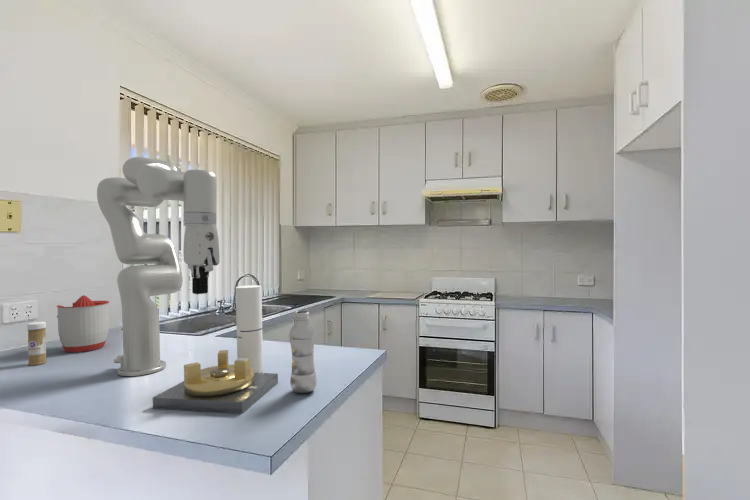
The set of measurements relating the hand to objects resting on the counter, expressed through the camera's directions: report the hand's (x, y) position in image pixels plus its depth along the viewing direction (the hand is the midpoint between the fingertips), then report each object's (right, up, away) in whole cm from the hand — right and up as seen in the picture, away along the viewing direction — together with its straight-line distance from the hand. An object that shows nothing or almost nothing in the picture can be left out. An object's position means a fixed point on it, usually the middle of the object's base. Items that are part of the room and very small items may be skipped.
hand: (200, 293), depth 97 cm
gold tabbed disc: (+6, -22, -1) cm, 23 cm away
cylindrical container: (+8, -25, +16) cm, 31 cm away
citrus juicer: (-64, -26, +46) cm, 84 cm away
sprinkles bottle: (-65, -26, +28) cm, 76 cm away
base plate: (+6, -25, -1) cm, 26 cm away
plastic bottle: (+26, -25, 0) cm, 36 cm away
